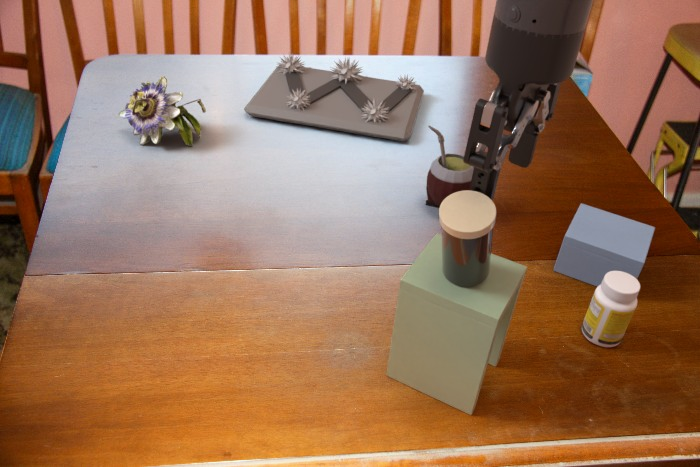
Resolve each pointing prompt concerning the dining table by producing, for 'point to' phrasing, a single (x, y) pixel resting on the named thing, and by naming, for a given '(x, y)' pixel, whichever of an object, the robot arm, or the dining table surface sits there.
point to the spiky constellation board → (338, 100)
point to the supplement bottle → (611, 309)
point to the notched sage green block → (451, 327)
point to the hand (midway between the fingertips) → (500, 180)
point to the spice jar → (466, 237)
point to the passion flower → (159, 113)
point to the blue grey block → (602, 245)
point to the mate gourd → (446, 175)
